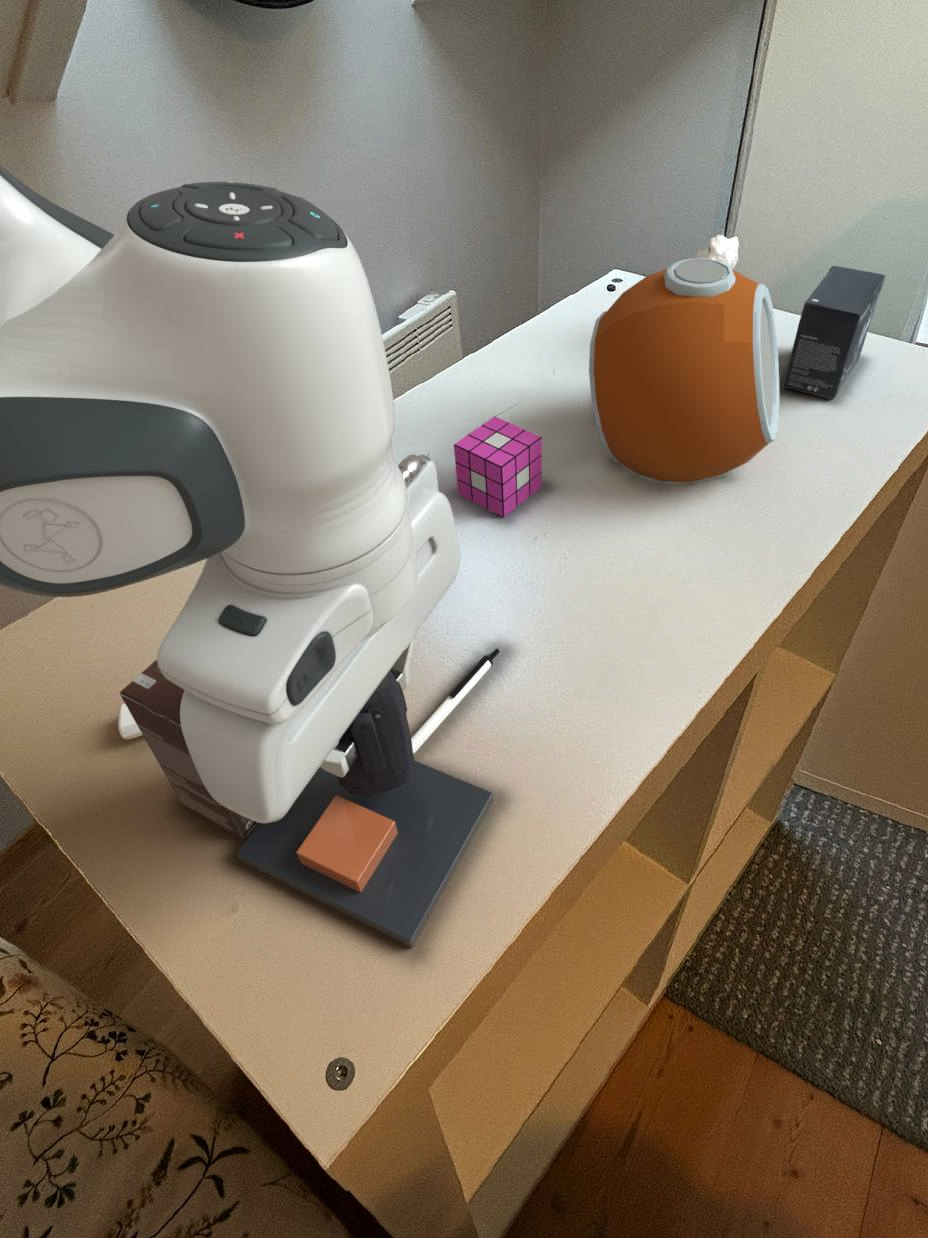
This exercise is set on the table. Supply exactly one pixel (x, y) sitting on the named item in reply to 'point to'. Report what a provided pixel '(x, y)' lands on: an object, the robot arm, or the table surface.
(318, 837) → the orange square block
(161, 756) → the box
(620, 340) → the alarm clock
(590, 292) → the table surface
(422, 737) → the pen
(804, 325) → the box
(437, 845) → the slate tile
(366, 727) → the two-way radio
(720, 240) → the white creature statuette
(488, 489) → the puzzle toy
